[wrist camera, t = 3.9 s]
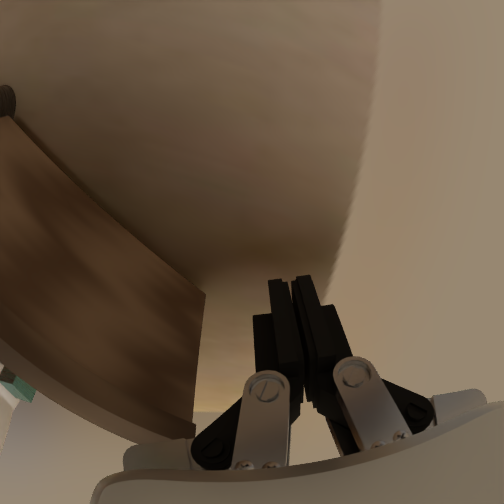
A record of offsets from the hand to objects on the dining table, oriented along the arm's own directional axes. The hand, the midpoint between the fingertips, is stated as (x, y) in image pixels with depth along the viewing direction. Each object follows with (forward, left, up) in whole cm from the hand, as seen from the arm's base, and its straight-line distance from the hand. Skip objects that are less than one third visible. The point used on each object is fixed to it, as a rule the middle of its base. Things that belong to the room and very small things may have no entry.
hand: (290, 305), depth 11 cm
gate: (-4, -9, -4) cm, 11 cm away
